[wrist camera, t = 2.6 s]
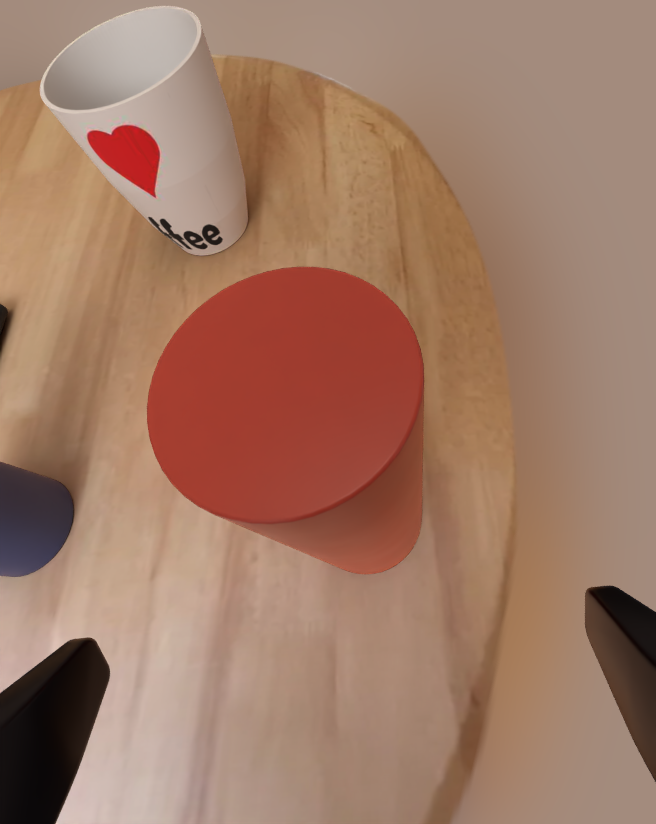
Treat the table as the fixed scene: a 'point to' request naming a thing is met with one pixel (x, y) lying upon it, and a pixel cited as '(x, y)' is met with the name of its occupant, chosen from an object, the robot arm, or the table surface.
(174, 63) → the cup
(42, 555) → the navy cylinder
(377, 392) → the red cylinder
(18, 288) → the table surface
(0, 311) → the smartphone
